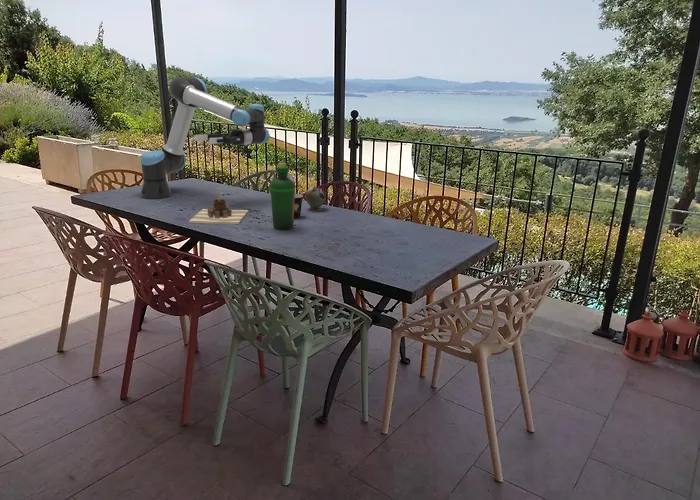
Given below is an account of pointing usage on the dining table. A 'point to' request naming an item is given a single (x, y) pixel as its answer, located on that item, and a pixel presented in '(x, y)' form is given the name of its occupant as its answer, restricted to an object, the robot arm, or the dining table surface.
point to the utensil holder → (219, 205)
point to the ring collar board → (227, 218)
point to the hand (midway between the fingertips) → (202, 139)
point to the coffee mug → (297, 205)
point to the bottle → (282, 199)
